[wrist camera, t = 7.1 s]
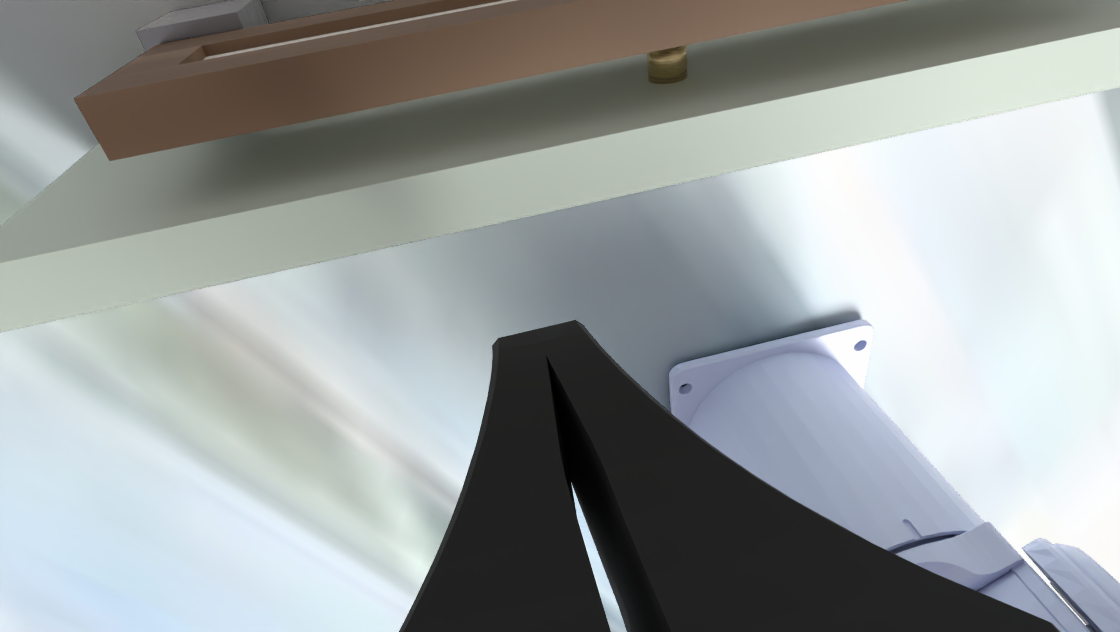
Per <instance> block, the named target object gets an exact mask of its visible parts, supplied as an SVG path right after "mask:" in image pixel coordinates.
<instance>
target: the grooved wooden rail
mask: <svg viewBox="0 0 1120 632" xmlns="http://www.w3.org/2000/svg"><path fill="white" fill-rule="evenodd" d="M903 1H908V0H394V1H388V2H383V3H378V4H372V5H367V6H362V7H356V8H351V9H346V10H340V11H335V12H329V13H324V14H319V15H313V16H308V17H303V18H297V19H292V20H287V21H281V22H276V23H271V24H265V25H260V26H255V27H249V28H244V29H239V30H233V31H228V32H223V33H217V34H212V35H207V36H201V37H196V38H191V39H185V40H180V41H175V42H169V43H164V44H159V45H155V46H154V47H152V48H151V49H149V50H148V51H146V52H145V53H143V54H142V55H140V56H138V57H137V58H135V59H134V60H132V61H131V62H129V63H128V64H126V65H125V66H123V67H122V68H120V69H118V70H117V71H115V72H114V73H112V74H111V75H109V76H108V77H106V78H105V79H103V80H102V81H100V82H98V83H97V84H95V85H94V86H92V87H91V88H89V89H88V90H86V91H85V92H83V93H82V94H80V95H79V96H77V97H75V98H74V100H75V102H76V104H77V105H78V107H79V109H80V111H81V112H82V114H83V116H84V118H85V119H86V121H87V123H88V124H89V126H90V128H91V130H92V131H93V133H94V135H95V137H96V138H97V140H98V142H99V144H100V145H101V147H102V149H103V151H104V152H105V154H106V156H107V158H108V159H109V161H113V160H118V159H123V158H128V157H133V156H138V155H143V154H148V153H153V152H158V151H163V150H168V149H173V148H178V147H183V146H188V145H193V144H198V143H203V142H208V141H213V140H218V139H223V138H228V137H232V136H237V135H242V134H247V133H252V132H257V131H262V130H267V129H272V128H277V127H282V126H287V125H292V124H297V123H302V122H307V121H312V120H317V119H322V118H327V117H332V116H337V115H342V114H347V113H352V112H357V111H362V110H367V109H372V108H376V107H381V106H386V105H391V104H396V103H401V102H406V101H411V100H416V99H421V98H426V97H431V96H436V95H441V94H446V93H451V92H456V91H461V90H466V89H471V88H476V87H481V86H486V85H491V84H496V83H501V82H506V81H511V80H516V79H520V78H525V77H530V76H535V75H540V74H545V73H550V72H555V71H560V70H565V69H570V68H575V67H580V66H585V65H590V64H595V63H600V62H605V61H610V60H615V59H620V58H625V57H630V56H635V55H640V54H645V53H650V52H655V51H660V50H664V49H669V48H674V47H679V46H684V45H689V44H694V43H699V42H704V41H709V40H714V39H719V38H724V37H729V36H734V35H739V34H744V33H749V32H754V31H759V30H764V29H769V28H774V27H779V26H784V25H789V24H794V23H799V22H804V21H809V20H813V19H818V18H823V17H828V16H833V15H838V14H843V13H848V12H853V11H858V10H863V9H868V8H873V7H878V6H883V5H888V4H893V3H898V2H903Z"/></svg>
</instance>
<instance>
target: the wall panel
mask: <svg viewBox="0 0 1120 632" xmlns="http://www.w3.org/2000/svg"><path fill="white" fill-rule="evenodd" d="M265 24H269V22H268V19H267V17H266V14H265V11H264V9H263V6H262V3H261V1H260V0H231V1H226V2H220V3H215V4H209V5H204V6H198V7H193V8H187V9H182V10H177V11H171V12H169V13H167V14H166V15H164V16H162V17H160V18H158V19H156V20H155V21H153V22H151V23H149V24H147V25H145V26H143V27H142V28H140V29H138V30H136V33H137V35H138V37H139V39H140V41H141V43H142V45H143V47H144V49H145V51H148V50H149V49H151V48H152V47H154V46H155V45H159V44H164V43H169V42H175V41H180V40H185V39H191V38H196V37H201V36H207V35H212V34H217V33H223V32H228V31H233V30H239V29H244V28H249V27H255V26H260V25H265ZM1118 87H1120V0H908V1H903V2H898V3H893V4H888V5H883V6H878V7H873V8H868V9H863V10H858V11H853V12H848V13H843V14H838V15H833V16H828V17H823V18H818V19H813V20H809V21H804V22H799V23H794V24H789V25H784V26H779V27H774V28H769V29H764V30H759V31H754V32H749V33H744V34H739V35H734V36H729V37H724V38H719V39H714V40H709V41H704V42H699V43H694V44H689V45H684V46H679V47H674V48H669V49H664V50H660V51H655V52H650V53H645V54H640V55H635V56H630V57H625V58H620V59H615V60H610V61H605V62H600V63H595V64H590V65H585V66H580V67H575V68H570V69H565V70H560V71H555V72H550V73H545V74H540V75H535V76H530V77H525V78H520V79H516V80H511V81H506V82H501V83H496V84H491V85H486V86H481V87H476V88H471V89H466V90H461V91H456V92H451V93H446V94H441V95H436V96H431V97H426V98H421V99H416V100H411V101H406V102H401V103H396V104H391V105H386V106H381V107H376V108H372V109H367V110H362V111H357V112H352V113H347V114H342V115H337V116H332V117H327V118H322V119H317V120H312V121H307V122H302V123H297V124H292V125H287V126H282V127H277V128H272V129H267V130H262V131H257V132H252V133H247V134H242V135H237V136H232V137H228V138H223V139H218V140H213V141H208V142H203V143H198V144H193V145H188V146H183V147H178V148H173V149H168V150H163V151H158V152H153V153H148V154H143V155H138V156H133V157H128V158H123V159H118V160H113V161H109V159H108V158H107V156H106V154H105V152H104V151H103V149H102V147H101V145H100V144H99V143H98V144H97V145H96V146H95V147H94V148H92V149H91V150H90V151H89V152H88V153H86V154H85V155H84V156H83V157H82V158H81V159H79V160H78V161H77V162H76V163H75V164H73V165H72V166H71V167H70V168H69V169H68V170H66V171H65V172H64V173H63V174H62V175H60V176H59V177H58V178H57V179H56V180H55V181H53V182H52V183H51V184H50V185H49V186H47V187H46V188H45V189H44V190H43V191H42V192H40V193H39V194H38V195H37V196H36V197H34V198H33V199H32V200H31V201H30V202H29V203H27V204H26V205H25V206H24V207H23V208H21V209H20V210H19V211H18V212H17V213H16V214H14V215H13V216H12V217H11V218H10V219H8V220H7V221H6V222H5V223H4V224H3V225H1V226H0V333H1V332H5V331H10V330H14V329H19V328H24V327H28V326H33V325H37V324H42V323H46V322H51V321H55V320H60V319H65V318H69V317H74V316H78V315H83V314H87V313H92V312H97V311H101V310H106V309H110V308H115V307H119V306H124V305H128V304H133V303H138V302H142V301H147V300H151V299H156V298H160V297H165V296H169V295H174V294H179V293H183V292H188V291H192V290H197V289H201V288H206V287H211V286H215V285H220V284H224V283H229V282H233V281H238V280H242V279H247V278H252V277H256V276H261V275H265V274H270V273H274V272H279V271H284V270H288V269H293V268H297V267H302V266H306V265H311V264H315V263H320V262H325V261H329V260H334V259H338V258H343V257H347V256H352V255H357V254H361V253H366V252H370V251H375V250H379V249H384V248H388V247H393V246H398V245H402V244H407V243H411V242H416V241H420V240H425V239H429V238H434V237H439V236H443V235H448V234H452V233H457V232H461V231H466V230H471V229H475V228H480V227H484V226H489V225H493V224H498V223H502V222H507V221H512V220H516V219H521V218H525V217H530V216H534V215H539V214H544V213H548V212H553V211H557V210H562V209H566V208H571V207H575V206H580V205H585V204H589V203H594V202H598V201H603V200H607V199H612V198H617V197H621V196H626V195H630V194H635V193H639V192H644V191H648V190H653V189H658V188H662V187H667V186H671V185H676V184H680V183H685V182H689V181H694V180H699V179H703V178H708V177H712V176H717V175H721V174H726V173H731V172H735V171H740V170H744V169H749V168H753V167H758V166H762V165H767V164H772V163H776V162H781V161H785V160H790V159H794V158H799V157H804V156H808V155H813V154H817V153H822V152H826V151H831V150H835V149H840V148H845V147H849V146H854V145H858V144H863V143H867V142H872V141H877V140H881V139H886V138H890V137H895V136H899V135H904V134H908V133H913V132H918V131H922V130H927V129H931V128H936V127H940V126H945V125H949V124H954V123H959V122H963V121H968V120H972V119H977V118H981V117H986V116H991V115H995V114H1000V113H1004V112H1009V111H1013V110H1018V109H1022V108H1027V107H1032V106H1036V105H1041V104H1045V103H1050V102H1054V101H1059V100H1064V99H1068V98H1073V97H1077V96H1082V95H1086V94H1091V93H1095V92H1100V91H1105V90H1109V89H1114V88H1118Z"/></svg>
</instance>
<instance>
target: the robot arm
mask: <svg viewBox="0 0 1120 632" xmlns="http://www.w3.org/2000/svg"><path fill="white" fill-rule="evenodd" d="M873 332H874V330H873V327H872V325H871V324H870V323H869V322H867V321H866V320H863V319H861V320H855V321H851V322H847V323H843V324H839V325H835V326H831V327H827V328H822V329H818V330H814V331H810V332H806V333H802V334H798V335H794V336H790V337H786V338H781V339H777V340H773V341H769V342H765V343H761V344H757V345H753V346H749V347H744V348H740V349H736V350H732V351H728V352H724V353H720V354H716V355H712V356H708V357H703V358H699V359H695V360H691V361H687V362H683V363H680V364H677V365H676V366H674V367H673V368H672V369H671V371H670V373H669V386H670V404H671V413H670V412H669V411H668V410H667V409H666V408H665V407H663V406H662V405H661V404H660V403H659V402H658V401H657V400H655V399H654V398H653V397H652V396H651V395H650V394H649V393H648V392H647V391H646V390H644V389H643V388H642V387H641V386H640V385H639V384H638V383H637V382H636V381H635V380H634V379H632V378H631V377H630V376H629V375H628V374H627V373H626V372H625V371H624V370H623V369H622V368H621V367H620V366H619V365H618V364H617V363H616V362H615V361H614V360H613V359H612V358H611V356H610V355H609V354H608V353H607V352H606V351H605V350H604V349H603V348H602V347H601V346H600V345H599V343H598V342H597V341H596V340H595V339H594V338H593V336H592V335H591V334H590V333H589V332H588V330H587V329H586V328H585V326H584V325H583V324H581V323H579V322H578V321H576V320H574V321H570V322H565V323H561V324H557V325H553V326H548V327H544V328H540V329H536V330H531V331H527V332H523V333H518V334H514V335H510V336H506V337H501V338H498V339H497V340H496V342H495V343H494V344H493V346H492V349H493V360H492V372H491V380H490V386H489V391H488V397H487V402H486V407H485V411H484V415H483V419H482V423H481V428H480V432H479V436H478V440H477V443H476V447H475V450H474V453H473V457H472V460H471V463H470V466H469V469H468V472H467V475H466V479H465V482H464V485H463V488H462V491H461V494H460V497H459V499H458V502H457V505H456V507H455V510H454V513H453V515H452V518H451V521H450V523H449V526H448V528H447V530H446V533H445V535H444V538H443V540H442V542H441V545H440V547H439V550H438V552H437V554H436V556H435V559H434V561H433V563H432V565H431V567H430V569H429V572H428V574H427V576H426V578H425V580H424V582H423V584H422V586H421V588H420V591H419V593H418V595H417V597H416V599H415V601H414V603H413V605H412V607H411V609H410V611H409V613H408V615H407V617H406V619H405V621H404V623H403V625H402V627H401V629H400V631H399V632H611V631H610V628H609V625H608V621H607V618H606V615H605V611H604V608H603V605H602V601H601V598H600V595H599V591H598V588H597V585H596V581H595V578H594V574H593V571H592V568H591V564H590V561H589V557H588V554H587V551H586V547H585V544H584V540H583V537H582V534H581V530H580V527H579V523H578V520H577V515H576V509H575V503H574V497H573V491H572V485H573V488H574V490H575V493H576V496H577V498H578V501H579V504H580V506H581V509H582V512H583V514H584V517H585V519H586V522H587V525H588V527H589V530H590V533H591V535H592V538H593V540H594V543H595V546H596V548H597V551H598V554H599V556H600V559H601V561H602V564H603V567H604V569H605V572H606V575H607V577H608V580H609V582H610V585H611V588H612V590H613V593H614V595H615V598H616V601H617V603H618V606H619V609H620V612H621V615H622V618H623V621H624V624H625V627H626V630H627V632H1120V583H1119V582H1118V581H1117V580H1116V579H1114V578H1113V577H1112V576H1111V575H1110V574H1109V573H1108V572H1107V571H1106V570H1105V569H1103V568H1102V567H1101V566H1100V565H1099V564H1098V563H1097V562H1095V561H1094V560H1093V559H1092V558H1091V557H1089V556H1088V555H1087V554H1086V553H1084V552H1083V551H1082V550H1080V549H1079V548H1076V547H1072V546H1067V545H1062V544H1054V545H1053V544H1052V543H1050V542H1049V541H1047V540H1046V539H1041V538H1039V539H1036V540H1034V541H1032V542H1030V543H1029V544H1027V545H1026V546H1024V547H1022V549H1023V550H1024V551H1025V553H1026V554H1027V555H1028V556H1029V558H1030V559H1031V560H1032V561H1033V562H1034V563H1035V564H1036V566H1037V567H1038V568H1039V569H1040V570H1041V571H1042V572H1043V574H1044V575H1045V576H1046V577H1047V578H1048V579H1049V580H1050V581H1051V582H1050V584H1051V585H1052V586H1053V588H1054V589H1055V590H1056V591H1057V592H1058V593H1059V594H1060V596H1061V597H1062V598H1063V599H1064V600H1065V601H1066V602H1067V603H1068V605H1069V606H1070V607H1071V608H1072V609H1073V610H1074V611H1075V612H1076V614H1077V615H1078V616H1079V617H1080V618H1081V619H1082V620H1083V621H1084V622H1085V624H1086V626H1085V625H1084V624H1083V623H1082V621H1081V620H1080V619H1079V618H1078V617H1077V616H1076V615H1075V614H1074V613H1073V612H1072V611H1071V610H1070V608H1069V607H1068V606H1067V605H1066V604H1065V603H1064V602H1063V601H1062V600H1061V599H1060V598H1059V597H1058V596H1057V594H1056V593H1055V592H1054V591H1053V590H1052V589H1051V588H1050V587H1049V586H1048V585H1047V584H1046V583H1045V582H1044V580H1043V579H1042V578H1041V577H1040V576H1039V575H1038V574H1037V573H1036V572H1035V571H1034V570H1033V569H1032V568H1031V567H1030V566H1029V565H1028V564H1027V562H1026V561H1025V560H1024V559H1023V558H1022V557H1021V556H1020V555H1019V554H1018V553H1017V551H1016V550H1015V549H1014V548H1013V547H1012V546H1011V545H1010V544H1009V543H1008V542H1007V541H1006V539H1005V538H1004V537H1003V536H1002V535H1001V534H1000V533H999V532H998V531H997V530H996V529H995V528H994V526H993V525H992V524H991V523H989V522H984V521H983V520H982V519H981V518H980V516H979V515H978V514H977V513H976V512H975V511H974V510H973V509H972V508H971V507H970V505H969V504H968V503H967V502H966V501H965V500H964V499H963V498H962V497H961V496H960V494H959V493H958V492H957V491H956V490H955V489H954V488H953V487H952V486H951V485H950V484H949V482H948V481H947V480H946V479H945V478H944V477H943V476H942V475H941V474H940V473H939V471H938V470H937V469H936V468H935V467H934V466H933V465H932V464H931V463H930V462H929V460H928V459H927V458H926V457H925V456H924V455H923V454H922V453H921V452H920V451H919V449H918V448H917V447H916V446H915V445H914V444H913V443H912V442H911V441H910V440H909V439H908V437H907V436H906V435H905V434H904V433H903V432H902V431H901V430H900V429H899V428H898V426H897V425H896V424H895V423H894V422H893V421H892V420H891V419H890V418H889V417H888V415H887V414H886V413H885V412H884V411H883V410H882V409H881V408H880V407H879V406H878V404H877V403H876V402H875V401H874V400H873V399H872V398H871V397H870V396H869V395H868V394H867V392H866V391H865V390H864V389H863V388H864V382H865V377H866V371H867V366H868V360H869V355H870V349H871V343H872V338H873ZM857 342H858V343H857ZM856 343H857V344H856ZM683 384H687V385H686V386H684V387H682V388H680V387H681V386H682V385H683ZM571 482H572V485H571Z"/></svg>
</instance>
